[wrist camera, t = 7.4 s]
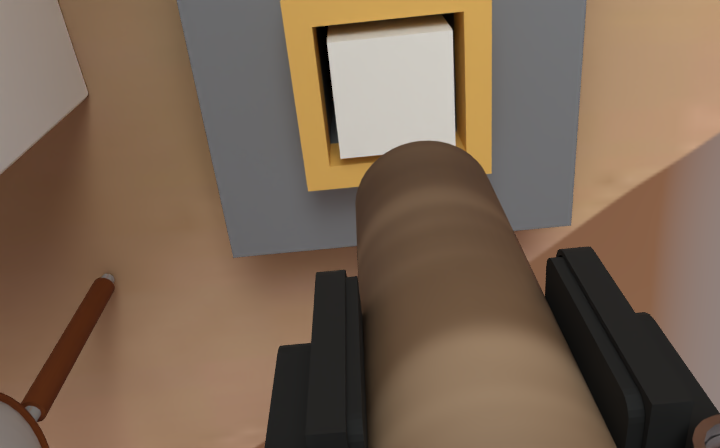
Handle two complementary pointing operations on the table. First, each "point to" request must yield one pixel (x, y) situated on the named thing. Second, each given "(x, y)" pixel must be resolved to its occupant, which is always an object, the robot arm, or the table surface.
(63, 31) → the gable box
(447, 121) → the button
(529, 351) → the brown cylinder
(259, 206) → the box
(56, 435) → the table surface
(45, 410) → the magnifying glass
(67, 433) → the table surface
